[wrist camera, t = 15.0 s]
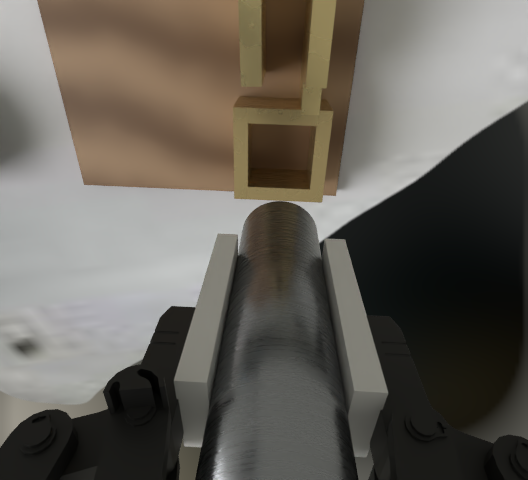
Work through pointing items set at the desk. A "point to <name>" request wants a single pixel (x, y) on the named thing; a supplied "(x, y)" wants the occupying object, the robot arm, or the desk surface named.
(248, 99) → the fixed leaf
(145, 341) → the desk surface
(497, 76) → the desk surface
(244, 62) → the tan flat bar
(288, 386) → the pin
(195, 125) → the board
